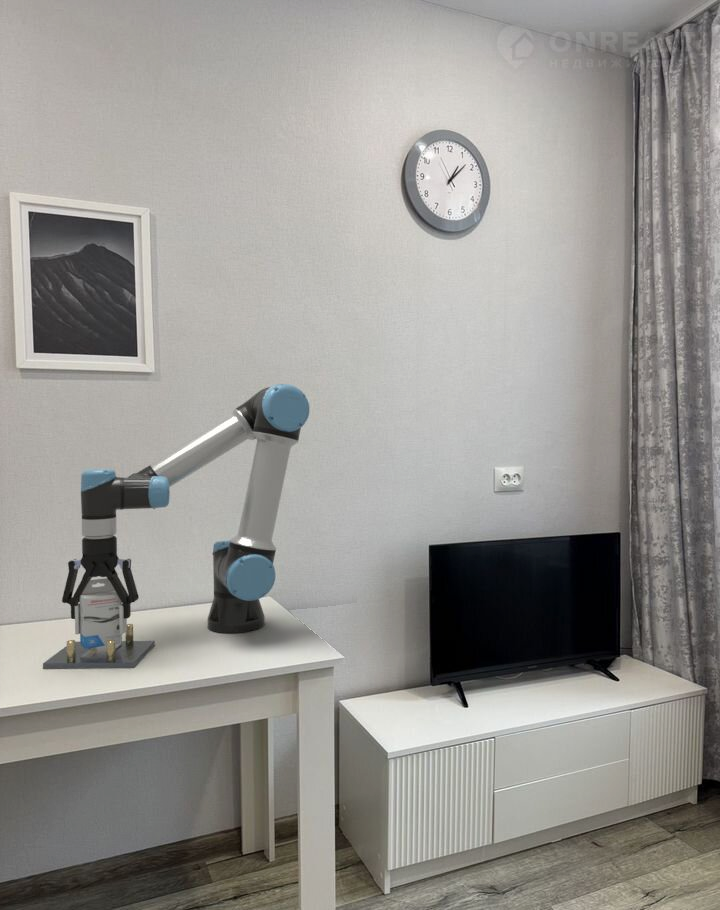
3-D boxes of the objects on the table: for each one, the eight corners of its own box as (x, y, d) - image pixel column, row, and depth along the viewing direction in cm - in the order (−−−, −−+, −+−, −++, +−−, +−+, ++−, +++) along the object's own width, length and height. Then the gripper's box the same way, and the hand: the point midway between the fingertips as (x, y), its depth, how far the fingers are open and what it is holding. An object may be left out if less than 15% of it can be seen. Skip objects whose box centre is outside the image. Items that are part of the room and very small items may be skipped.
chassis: (154, 645, 169) (154, 622, 168) (134, 667, 153) (133, 642, 152) (72, 646, 168) (71, 623, 168) (43, 668, 152) (42, 643, 152)
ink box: (84, 649, 156) (83, 585, 156) (79, 644, 160) (78, 581, 160) (123, 643, 161) (121, 580, 160) (117, 638, 165) (116, 576, 164)
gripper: (152, 533, 164) (153, 627, 164) (58, 534, 163) (60, 628, 164) (142, 538, 156) (144, 636, 157) (44, 539, 156) (46, 637, 157)
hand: (101, 632), depth 160 cm, fingers closed on ink box, 9 cm apart
